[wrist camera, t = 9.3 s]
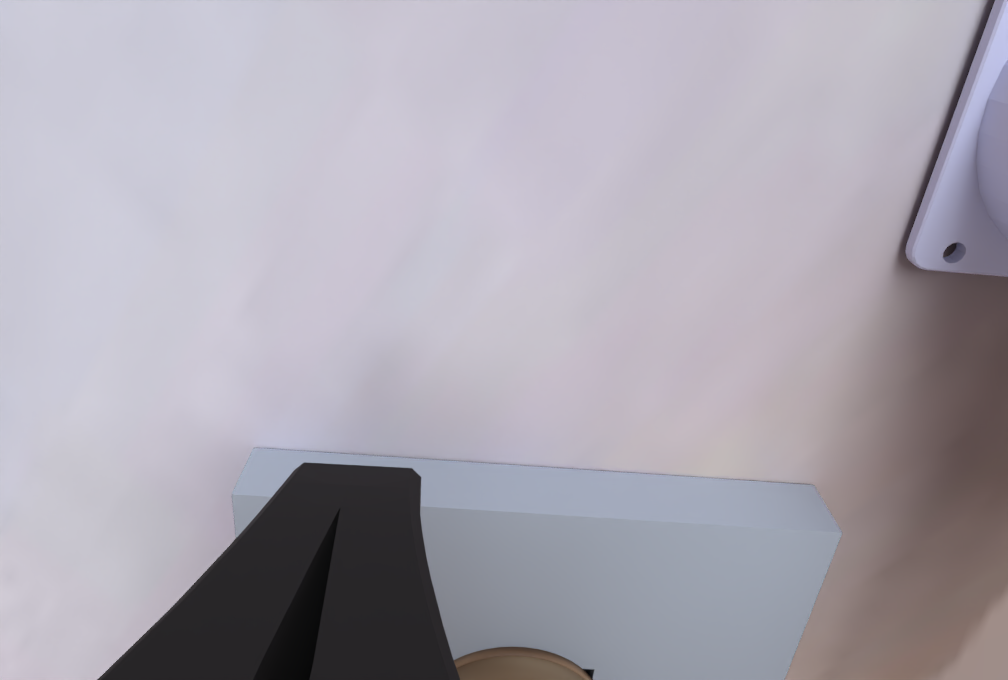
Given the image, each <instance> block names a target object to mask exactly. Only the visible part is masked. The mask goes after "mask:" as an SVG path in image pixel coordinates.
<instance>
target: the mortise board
mask: <svg viewBox="0 0 1008 680" xmlns="http://www.w3.org/2000/svg"><path fill="white" fill-rule="evenodd" d="M304 462H306V463H325V464H344V465H363V466H382V467H402V468H412V469H413V470H414V471H416V472H417V473H418V474H419V475H420V476H421V505H420V517H421V526H422V533H423V539H424V545H425V551H426V557H427V562H428V567H429V571H430V576H431V580H432V584H433V588H434V592H435V596H436V600H437V603H438V607H439V611H440V615H441V619H442V623H443V627H444V630H445V633H446V637H447V640H448V643H449V647H450V650H451V653H452V657H453V660H455V659H457V658H460V657H462V656H464V655H467V654H470V653H473V652H476V651H480V650H485V649H490V648H497V647H527V648H534V649H540V650H544V651H548V652H551V653H554V654H557V655H560V656H562V657H564V658H566V659H568V660H570V661H572V662H574V663H575V664H577V665H578V666H580V667H581V668H582V669H583V670H584V671H586V672H587V673H588V675H589V676H590V677H591V678H592V679H593V680H785V677H786V674H787V672H788V669H789V667H790V664H791V662H792V659H793V657H794V654H795V652H796V649H797V647H798V644H799V642H800V639H801V637H802V634H803V632H804V629H805V626H806V624H807V621H808V619H809V616H810V614H811V611H812V609H813V606H814V604H815V601H816V599H817V596H818V594H819V591H820V589H821V586H822V584H823V581H824V578H825V576H826V573H827V571H828V568H829V566H830V563H831V561H832V558H833V556H834V553H835V551H836V548H837V546H838V543H839V541H840V538H841V536H842V531H841V530H840V528H839V526H838V525H837V523H836V521H835V519H834V518H833V516H832V514H831V513H830V511H829V509H828V508H827V506H826V504H825V503H824V501H823V499H822V498H821V496H820V494H819V493H818V491H817V489H816V488H815V486H814V485H807V484H792V483H777V482H762V481H747V480H732V479H717V478H702V477H687V476H672V475H657V474H642V473H626V472H611V471H596V470H581V469H566V468H551V467H536V466H521V465H506V464H491V463H476V462H461V461H446V460H431V459H416V458H401V457H386V456H371V455H356V454H341V453H326V452H311V451H296V450H281V449H266V448H254V449H253V451H252V453H251V455H250V457H249V459H248V461H247V463H246V465H245V467H244V470H243V472H242V474H241V476H240V478H239V480H238V482H237V484H236V486H235V488H234V490H233V493H232V503H233V513H234V524H235V534H236V538H237V537H238V536H239V535H240V534H241V532H242V531H243V530H244V529H245V528H246V527H247V526H248V524H249V523H250V522H251V521H252V520H253V519H254V518H255V516H256V515H257V514H258V513H259V512H260V511H261V509H262V508H263V507H264V506H265V505H266V504H267V502H268V501H269V500H270V499H271V498H272V496H273V495H274V494H275V493H276V492H277V490H278V489H279V488H280V487H281V486H282V484H283V483H284V482H285V481H286V480H287V478H288V477H289V476H290V475H291V473H292V472H293V471H294V470H295V469H296V468H297V467H299V466H300V465H301V464H302V463H304Z"/></svg>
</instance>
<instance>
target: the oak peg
mask: <svg viewBox="0 0 1008 680" xmlns="http://www.w3.org/2000/svg"><path fill="white" fill-rule="evenodd" d="M454 663H455V666H456V669H457V672H458V675H459V678H460V680H593V679H592V678H591V677H590V676H589V675H588V673H587V672H586V671H584V670H583V669H582V668H581V667H580V666H578V665H577V664H575V663H574V662H572V661H570V660H568V659H566V658H564V657H562V656H560V655H557V654H554V653H551V652H548V651H544V650H540V649H534V648H527V647H497V648H490V649H485V650H480V651H476V652H473V653H470V654H467V655H464V656H462V657H460V658H457V659H455V660H454Z"/></svg>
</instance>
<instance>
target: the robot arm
mask: <svg viewBox="0 0 1008 680" xmlns="http://www.w3.org/2000/svg"><path fill="white" fill-rule="evenodd" d="M952 243H957V246H956V249H955V251H954V252H953V253H952V254H951V255H949V256H947V257H943V253H944V251H945V249H946V248H947V247H948V246H949V245H951V244H952ZM905 252H906V256H907V259H908V260H909V261H910V262H912V263H913V264H914V265H915V266H917V267H918V268H920V269H924V270H931V271H943V272H955V273H967V274H979V275H991V276H1003V277H1008V0H995V2H994V5H993V7H992V10H991V13H990V16H989V18H988V21H987V24H986V27H985V29H984V32H983V35H982V38H981V40H980V43H979V46H978V49H977V51H976V54H975V57H974V60H973V62H972V65H971V68H970V71H969V74H968V76H967V79H966V82H965V85H964V87H963V90H962V93H961V96H960V98H959V101H958V104H957V107H956V109H955V112H954V115H953V118H952V120H951V123H950V126H949V129H948V131H947V134H946V137H945V140H944V142H943V145H942V148H941V151H940V153H939V156H938V159H937V162H936V165H935V167H934V170H933V173H932V176H931V178H930V181H929V184H928V187H927V189H926V192H925V195H924V198H923V200H922V203H921V206H920V209H919V211H918V214H917V217H916V220H915V222H914V225H913V228H912V231H911V233H910V236H909V239H908V242H907V245H906V251H905ZM420 505H421V476H420V475H419V474H418V473H417V472H416V471H414V470H413V469H412V468H402V467H382V466H363V465H344V464H325V463H306V462H304V463H302V464H301V465H300V466H299V467H297V468H296V469H295V470H294V471H293V472H292V473H291V475H290V476H289V477H288V478H287V480H286V481H285V482H284V483H283V484H282V486H281V487H280V488H279V489H278V490H277V492H276V493H275V494H274V495H273V496H272V498H271V499H270V500H269V501H268V502H267V504H266V505H265V506H264V507H263V508H262V509H261V511H260V512H259V513H258V514H257V515H256V516H255V518H254V519H253V520H252V521H251V522H250V523H249V524H248V526H247V527H246V528H245V529H244V530H243V531H242V532H241V534H240V535H239V536H238V537H237V538H236V539H235V540H234V541H233V543H232V544H231V545H230V546H229V547H228V548H227V549H226V550H225V551H224V552H223V554H222V555H221V556H220V557H219V558H218V559H217V560H216V561H215V562H214V563H213V564H212V565H211V566H210V567H209V569H208V570H207V571H206V572H205V573H204V574H203V575H202V576H201V577H200V578H199V579H198V580H197V581H196V582H195V583H194V585H193V586H192V587H191V588H190V589H189V590H188V591H187V592H186V593H185V594H184V595H183V596H182V597H181V598H180V599H179V600H178V601H177V603H176V604H175V605H174V606H173V607H172V608H171V609H170V610H169V611H168V612H167V613H166V614H165V615H164V616H163V617H162V618H161V619H160V620H159V621H157V622H156V623H155V624H154V625H153V626H152V627H151V628H150V629H149V630H148V631H147V632H146V633H145V634H144V635H143V636H142V637H141V638H140V639H139V640H138V641H137V642H136V643H135V644H134V645H133V646H132V647H131V648H130V649H129V650H128V651H127V652H126V653H125V654H124V655H122V656H121V657H120V658H119V659H118V660H117V661H116V662H115V663H114V664H113V665H112V666H111V667H110V668H109V669H108V670H107V671H106V672H105V673H104V674H103V675H102V676H101V677H100V678H99V679H98V680H460V678H459V675H458V672H457V669H456V666H455V663H454V660H453V657H452V653H451V650H450V647H449V643H448V640H447V637H446V633H445V630H444V627H443V623H442V619H441V615H440V611H439V607H438V603H437V600H436V596H435V592H434V588H433V584H432V580H431V576H430V571H429V567H428V562H427V557H426V551H425V545H424V539H423V533H422V526H421V517H420Z"/></svg>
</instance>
